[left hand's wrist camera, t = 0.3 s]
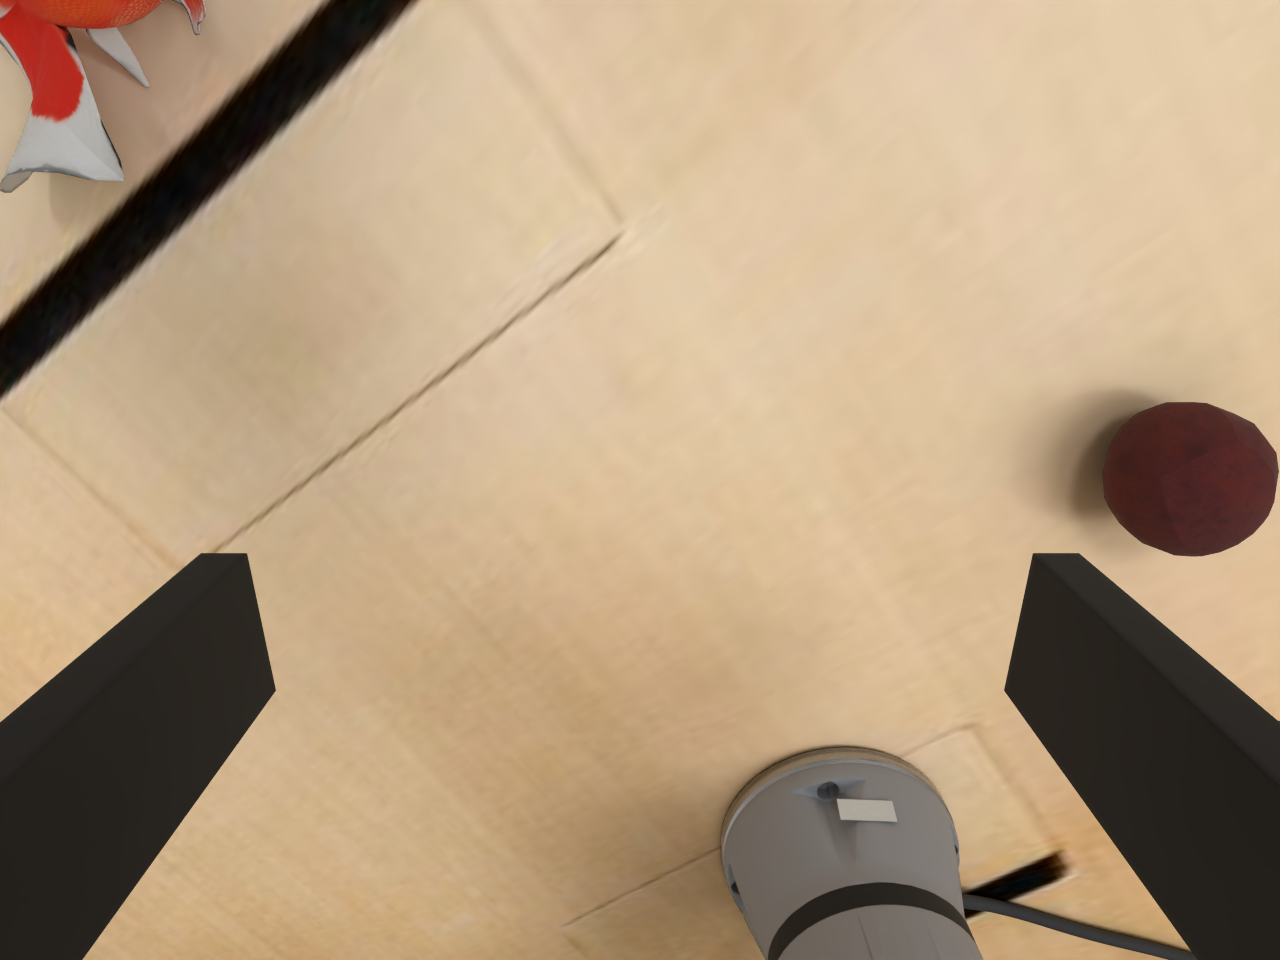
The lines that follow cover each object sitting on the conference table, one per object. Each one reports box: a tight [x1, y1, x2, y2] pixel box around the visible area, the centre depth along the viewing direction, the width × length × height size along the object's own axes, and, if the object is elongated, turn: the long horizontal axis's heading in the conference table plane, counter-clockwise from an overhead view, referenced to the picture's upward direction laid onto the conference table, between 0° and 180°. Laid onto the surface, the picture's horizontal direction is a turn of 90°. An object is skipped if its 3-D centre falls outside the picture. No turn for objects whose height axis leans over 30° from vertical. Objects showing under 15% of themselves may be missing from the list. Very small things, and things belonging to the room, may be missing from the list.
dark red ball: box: [1103, 402, 1279, 556], centre depth 38 cm, size 7×8×7 cm
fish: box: [0, 0, 206, 193], centre depth 31 cm, size 11×16×10 cm
